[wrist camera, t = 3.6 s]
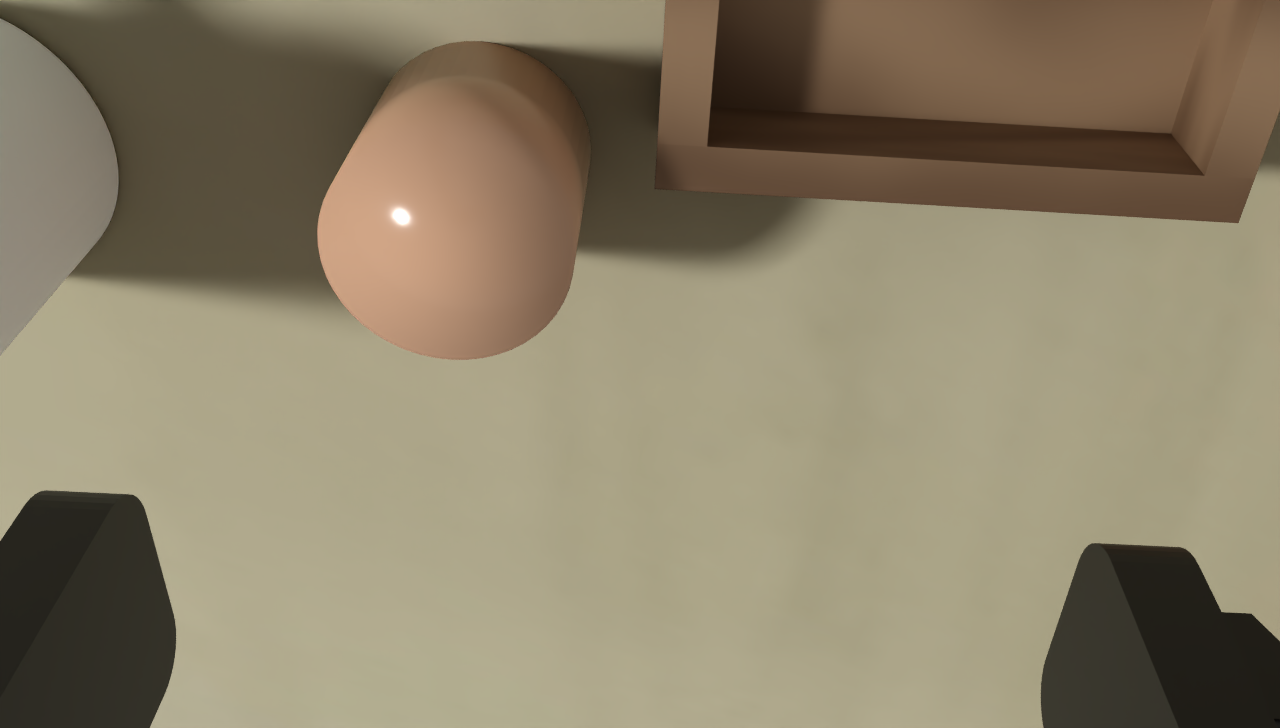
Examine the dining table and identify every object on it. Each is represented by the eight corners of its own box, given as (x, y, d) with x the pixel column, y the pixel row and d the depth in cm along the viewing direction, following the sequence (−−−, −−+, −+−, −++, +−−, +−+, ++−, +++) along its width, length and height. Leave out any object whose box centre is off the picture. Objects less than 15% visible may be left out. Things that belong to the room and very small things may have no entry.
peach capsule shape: (365, 34, 31) (304, 125, 26) (594, 48, 31) (576, 141, 26) (381, 237, 35) (330, 351, 30) (588, 249, 35) (571, 366, 30)
